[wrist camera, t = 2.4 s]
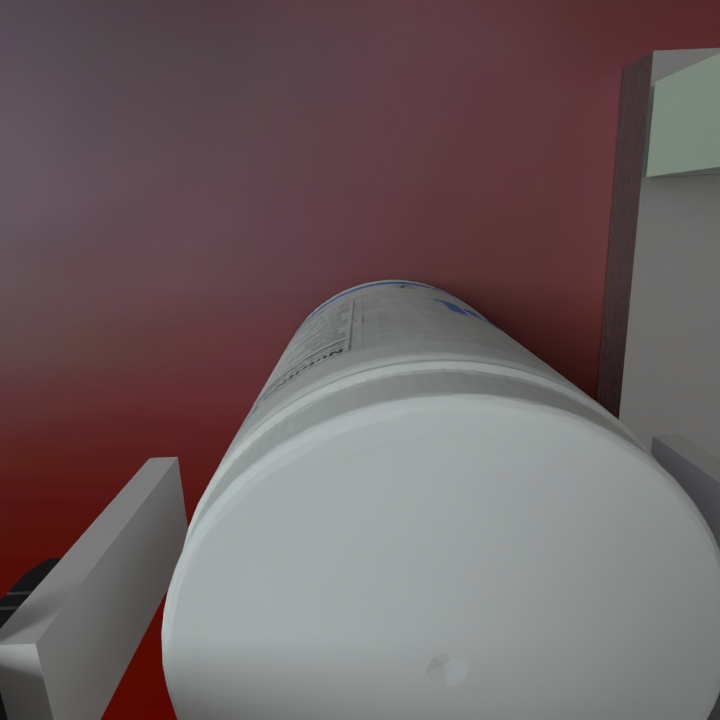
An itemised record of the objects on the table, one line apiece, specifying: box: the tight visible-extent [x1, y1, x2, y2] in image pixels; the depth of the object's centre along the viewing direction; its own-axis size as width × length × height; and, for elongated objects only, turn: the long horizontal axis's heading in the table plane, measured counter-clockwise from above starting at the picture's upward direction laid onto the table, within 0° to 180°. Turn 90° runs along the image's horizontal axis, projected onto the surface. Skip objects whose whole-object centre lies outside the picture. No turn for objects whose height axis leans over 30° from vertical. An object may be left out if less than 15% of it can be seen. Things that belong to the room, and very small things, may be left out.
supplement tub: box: [162, 280, 720, 720], centre depth 15 cm, size 10×10×15 cm
